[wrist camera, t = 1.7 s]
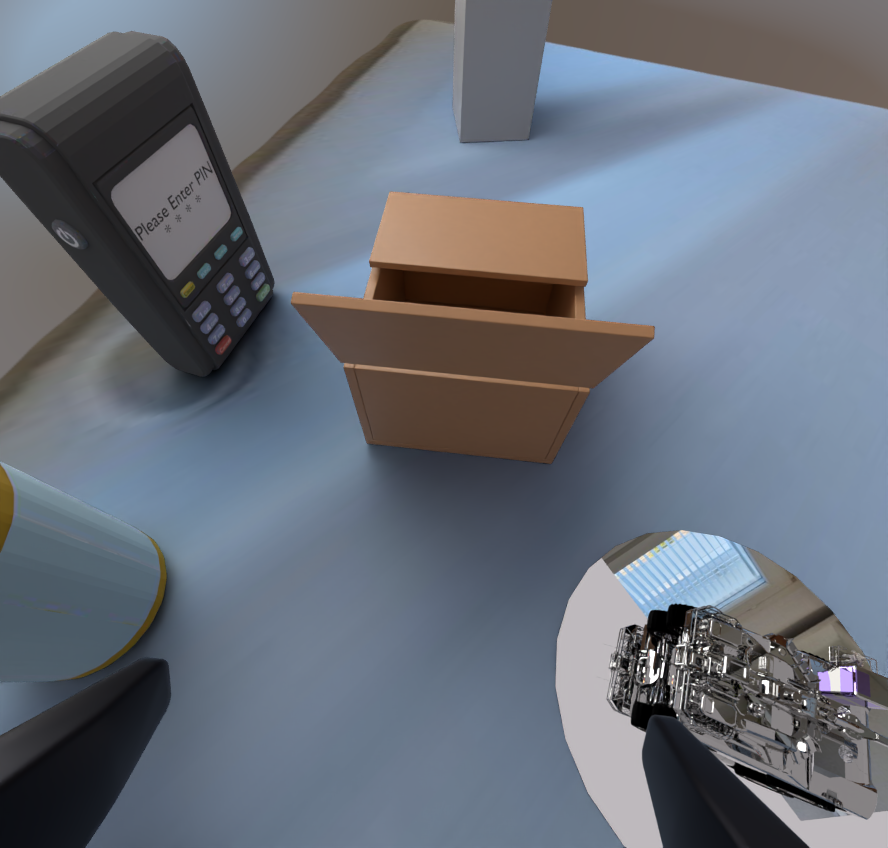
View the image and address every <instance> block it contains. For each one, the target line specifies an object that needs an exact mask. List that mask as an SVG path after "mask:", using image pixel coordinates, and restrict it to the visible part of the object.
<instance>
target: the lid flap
mask: <svg viewBox="0 0 888 848" xmlns="http://www.w3.org/2000/svg"><path fill="white" fill-rule="evenodd" d="M291 304H292V305H293V306H294V308H295V309H296V310H297V311H298V312H299V314H300V315H301V316H302V317H303V318H304V320H305V321H306V322H307V323H308V324H309V326H310V327H311V328H312V329H313V330H314V331H315V333H316V334H317V335H318V336H319V337H320V339H321V340H322V341H323V342H324V343H325V345H326V346H327V347H328V348H329V349H330V351H331V352H332V353H333V354H334V355H335V356H336V358H337V359H338V360H339V361H340V362H341V363H349V364H359V365H368V366H378V367H388V368H398V369H408V370H417V371H427V372H437V373H447V374H457V375H467V376H476V377H486V378H496V379H506V380H516V381H525V382H535V383H545V384H555V385H565V386H574V387H584V388H594V387H596V386H597V385H598V384H599V383H600V382H602V381H603V380H604V379H605V378H607V377H608V376H609V375H610V374H611V373H613V372H614V371H615V370H616V369H617V368H619V367H620V366H621V365H622V364H623V363H625V362H626V361H627V360H628V359H629V358H631V357H632V356H633V355H634V354H636V353H637V352H638V351H639V350H640V349H642V348H643V347H644V346H645V345H646V344H648V343H649V342H650V341H651V340H652V339H654V328H655V327H654V326H648V325H637V324H626V323H616V322H605V321H595V320H584V319H574V318H563V317H552V316H542V315H531V314H521V313H510V312H500V311H489V310H478V309H468V308H457V307H447V306H436V305H426V304H415V303H405V302H394V301H383V300H373V299H362V298H352V297H341V296H331V295H320V294H309V293H299V292H293V294H292V299H291Z"/></svg>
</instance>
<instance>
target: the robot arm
mask: <svg viewBox="0 0 888 848" xmlns="http://www.w3.org/2000/svg"><path fill="white" fill-rule="evenodd" d="M170 698H171V687H170V675H169V665H168V662H167V661H166V660H164V659H159V658H150V657H145V658H142V659H140V660H137V661H136V662H134V663H132V664H130V665H128V666H127V667H125V668H123V669H121V670H119V671H117V672H116V673H114V674H112V675H110V676H108V677H106V678H105V679H103V680H101V681H99V682H97V683H95V684H94V685H92V686H90V687H88V688H86V689H84V690H83V691H81V692H79V693H77V694H75V695H74V696H72V697H70V698H68V699H66V700H64V701H63V702H61V703H59V704H57V705H55V706H53V707H52V708H50V709H48V710H46V711H44V712H42V713H41V714H39V715H37V716H35V717H33V718H31V719H30V720H28V721H26V722H24V723H22V724H21V725H19V726H17V727H15V728H13V729H11V730H10V731H8V732H6V733H4V734H2V735H0V848H85V847H86V846H87V844H88V843H89V841H90V840H91V838H92V837H93V835H94V834H95V832H96V831H97V829H98V828H99V826H100V825H101V823H102V822H103V820H104V819H105V817H106V815H107V814H108V812H109V811H110V809H111V808H112V806H113V804H114V803H115V801H116V799H117V798H118V796H119V794H120V793H121V791H122V789H123V788H124V786H125V784H126V782H127V780H128V779H129V777H130V775H131V773H132V771H133V770H134V768H135V766H136V764H137V762H138V761H139V759H140V757H141V755H142V753H143V752H144V750H145V748H146V746H147V744H148V743H149V741H150V739H151V737H152V735H153V734H154V732H155V730H156V728H157V726H158V725H159V723H160V721H161V719H162V717H163V716H164V714H165V712H166V710H167V708H168V705H169V703H170ZM642 763H643V768H644V772H645V776H646V780H647V784H648V788H649V792H650V796H651V800H652V804H653V809H654V813H655V817H656V821H657V825H658V829H659V833H660V837H661V841H662V845H663V848H810V847H809V846H808V845H807V844H806V843H805V842H804V841H803V840H802V839H801V838H800V837H799V836H798V835H797V834H795V833H794V832H793V831H792V830H791V829H790V828H789V827H788V826H787V825H786V824H785V823H784V822H783V821H782V820H781V819H780V818H779V817H778V816H777V815H776V814H775V813H774V812H773V811H772V810H771V809H770V808H769V807H768V806H767V805H766V804H765V803H763V802H762V801H761V800H760V799H759V798H758V797H757V796H756V795H755V794H754V793H753V792H752V791H751V790H750V789H749V788H748V787H747V786H746V785H745V784H744V783H743V782H742V781H741V780H740V779H739V778H738V777H737V776H736V775H735V774H734V773H733V772H731V771H730V770H729V769H728V768H727V767H726V766H725V765H724V764H723V763H722V762H721V761H720V760H719V759H718V758H717V757H716V756H715V755H714V754H713V753H712V752H711V751H710V750H709V749H708V748H707V747H706V746H705V745H704V744H703V743H702V742H701V741H699V740H698V739H697V738H696V737H695V736H694V735H693V734H692V733H691V732H690V731H689V730H688V729H687V728H686V727H685V726H684V725H683V724H682V723H681V722H680V721H679V720H677V719H676V718H674V717H669V716H660V715H653V716H651V718H650V719H649V722H648V726H647V731H646V735H645V739H644V743H643V748H642Z"/></svg>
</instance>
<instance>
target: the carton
mask: <svg viewBox="0 0 888 848" xmlns="http://www.w3.org/2000/svg"><path fill="white" fill-rule="evenodd" d="M369 263H370V267H372V270H371V273H370V277H369V280H368V284H367V287H366V291H365V294H364V298H363V299H373V300H383V301H394V302H405V303H415V304H426V305H436V306H447V307H457V308H468V309H478V310H489V311H500V312H510V313H521V314H531V315H542V316H552V317H563V318H574V319H584V320H586V317H585V300H584V287H586V285H587V282H588V275H587V259H586V244H585V228H584V213H583V207H572V206H560V205H548V204H535V203H523V202H511V201H499V200H487V199H475V198H463V197H451V196H438V195H426V194H414V193H402V192H389V196H388V199H387V203H386V206H385V209H384V213H383V216H382V219H381V223H380V226H379V230H378V233H377V236H376V240H375V243H374V246H373V250H372V253H371V257H370V260H369ZM344 371H345V374H346V377H347V380H348V384H349V387H350V390H351V393H352V397H353V400H354V403H355V406H356V410H357V413H358V416H359V419H360V423H361V426H362V429H363V433H364V436H365V439H366V442H367V444H376V445H385V446H394V447H403V448H412V449H421V450H430V451H439V452H448V453H457V454H466V455H476V456H485V457H494V458H503V459H512V460H521V461H530V462H539V463H548V464H552V462H553V460H554V458H555V457H556V455H557V453H558V451H559V449H560V447H561V445H562V444H563V442H564V440H565V438H566V436H567V434H568V432H569V430H570V429H571V427H572V425H573V423H574V421H575V419H576V417H577V415H578V414H579V412H580V410H581V408H582V406H583V404H584V402H585V400H586V399H587V397H588V395H589V393H590V388H584V387H574V386H565V385H555V384H545V383H535V382H525V381H516V380H506V379H496V378H486V377H476V376H467V375H457V374H447V373H437V372H427V371H417V370H408V369H398V368H388V367H378V366H368V365H359V364H349V363H345V364H344Z"/></svg>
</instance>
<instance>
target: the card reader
mask: <svg viewBox="0 0 888 848" xmlns="http://www.w3.org/2000/svg"><path fill="white" fill-rule="evenodd" d="M0 176H1V178H3V180H4V181H5V182H6V183H7V185H8V186H9V187H10V188H11V189H12V190H13V191H14V192H15V194H16V195H17V196H18V197H19V198H20V199H21V201H22V202H23V203H24V204H25V205H26V206H27V207H28V209H29V210H30V211H31V212H32V213H33V214H34V215H35V217H36V218H37V219H38V220H39V221H40V222H41V223H42V224H43V225H44V227H45V228H46V229H47V230H48V231H49V232H50V233H51V235H52V236H53V237H54V238H55V239H56V240H57V241H58V243H59V244H60V245H61V246H62V247H63V248H64V249H65V250H66V252H67V253H68V254H69V255H70V256H71V257H72V259H73V260H74V261H75V262H76V263H77V264H78V265H79V267H80V268H81V269H82V270H83V271H84V272H85V273H86V274H87V276H88V277H89V278H90V279H91V280H92V281H93V282H94V284H95V285H96V286H97V287H98V288H99V289H100V290H101V292H102V293H103V294H104V295H105V296H106V297H107V298H108V299H109V301H110V302H111V303H112V304H113V305H114V306H115V307H116V308H117V310H118V311H119V312H120V313H121V314H122V315H123V316H124V317H125V318H126V319H127V320H128V321H129V323H130V324H131V325H132V326H133V327H134V328H135V329H136V330H137V331H138V332H139V333H140V334H141V335H142V337H143V338H144V339H145V340H146V341H147V342H148V343H149V344H150V345H151V346H152V347H153V348H154V350H155V351H156V352H157V353H158V354H159V355H160V356H161V357H162V358H163V359H164V360H165V361H166V362H167V363H169V364H170V365H171V366H173V367H174V368H176V369H178V370H181V371H184V372H187V373H191V374H194V375H197V376H200V377H205V376H207V375H208V374H209V373H210V372H211V371H212V370H216V369H219V367H220V366H221V365H222V363H223V362H224V361H225V359H226V358H227V356H228V355H229V354H230V352H231V351H232V350H233V348H234V347H235V346H236V344H237V343H238V342H239V340H240V339H241V338H242V336H243V335H244V333H245V332H246V331H247V329H248V328H249V327H250V325H251V324H252V323H253V321H254V320H255V319H256V317H257V316H258V315H259V313H260V312H261V310H262V309H263V308H264V306H265V305H266V304H267V302H268V301H269V300H270V298H271V297H272V295H273V290H272V289H273V287H274V279H273V276H272V273H271V271H270V268H269V266H268V263H267V260H266V258H265V255H264V253H263V250H262V247H261V245H260V242H259V240H258V237H257V234H256V232H255V229H254V227H253V224H252V221H251V219H250V216H249V214H248V212H247V209H246V207H245V204H244V202H243V199H242V197H241V194H240V192H239V189H238V187H237V184H236V182H235V179H234V177H233V175H232V172H231V170H230V167H229V165H228V162H227V160H226V157H225V155H224V153H223V150H222V148H221V145H220V143H219V140H218V138H217V135H216V133H215V130H214V128H213V126H212V123H211V120H210V118H209V115H208V113H207V111H206V108H205V106H204V103H203V101H202V98H201V96H200V93H199V91H198V89H197V86H196V84H195V81H194V79H193V77H192V74H191V72H190V69H189V67H188V65H187V63H186V61H185V59H184V57H183V56H182V55H181V53H180V52H179V50H178V49H177V48H176V47H175V46H174V45H173V44H172V43H171V42H170V41H169V40H168V39H166V38H164V37H162V36H156V35H151V34H144V33H139V32H134V31H130V32H126V33H119V32H111V33H107V34H106V35H104V36H102V37H101V38H99V39H98V40H96V41H94V42H92V43H90V44H89V45H87V46H85V47H84V48H82V49H80V50H79V51H77V52H75V53H73V54H72V55H70V56H68V57H67V58H65V59H63V60H61V61H60V62H58V63H57V64H55V65H53V66H51V67H50V68H48V69H46V70H45V71H43V72H41V73H39V74H38V75H36V76H34V77H33V78H31V79H29V80H27V81H26V82H24V83H22V84H21V85H19V86H17V87H16V88H14V89H12V90H10V91H9V92H7V93H5V94H4V95H2V96H0Z"/></svg>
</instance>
